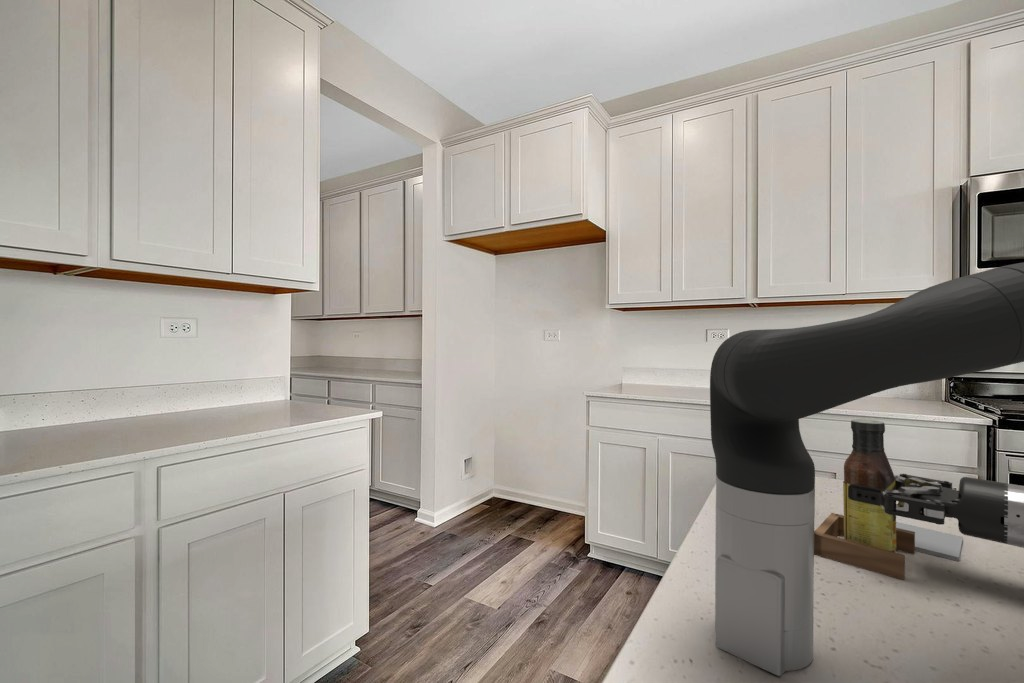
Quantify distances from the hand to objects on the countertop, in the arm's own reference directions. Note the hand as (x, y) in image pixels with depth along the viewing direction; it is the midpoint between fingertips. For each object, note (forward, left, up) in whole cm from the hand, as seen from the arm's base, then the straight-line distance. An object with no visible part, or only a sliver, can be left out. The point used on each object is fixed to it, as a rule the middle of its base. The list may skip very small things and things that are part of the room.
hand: (855, 484), depth 71 cm
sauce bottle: (0, -2, -10) cm, 10 cm away
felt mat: (+11, -7, -10) cm, 17 cm away
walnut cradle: (0, -2, -10) cm, 10 cm away
